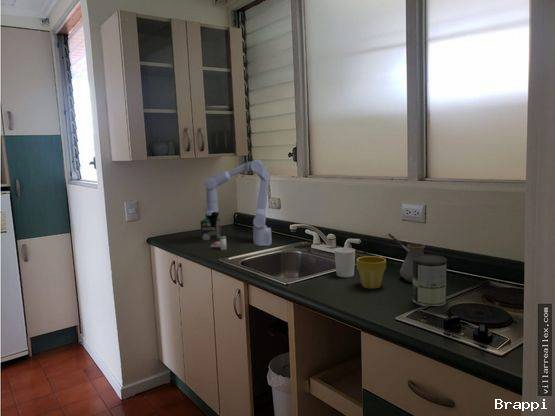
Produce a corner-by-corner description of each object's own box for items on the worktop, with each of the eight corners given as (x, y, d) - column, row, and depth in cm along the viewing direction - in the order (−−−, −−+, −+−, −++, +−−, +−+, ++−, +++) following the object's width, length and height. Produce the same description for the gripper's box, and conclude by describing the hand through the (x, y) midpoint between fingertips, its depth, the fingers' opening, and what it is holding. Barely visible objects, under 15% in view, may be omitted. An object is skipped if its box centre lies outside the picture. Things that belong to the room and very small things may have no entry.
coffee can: (405, 299, 142) (405, 257, 140) (428, 293, 147) (428, 252, 145) (429, 309, 133) (430, 264, 131) (453, 302, 138) (454, 259, 136)
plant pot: (368, 279, 165) (368, 254, 163) (391, 285, 157) (392, 259, 155) (350, 285, 158) (350, 259, 157) (373, 292, 150) (373, 264, 149)
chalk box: (221, 237, 250) (220, 212, 248) (217, 241, 241) (216, 214, 239) (205, 238, 251) (204, 212, 249) (201, 241, 242) (199, 215, 240)
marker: (227, 249, 218) (226, 236, 218) (226, 250, 215) (225, 237, 215) (221, 249, 219) (220, 236, 218) (219, 251, 216) (218, 237, 215)
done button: (221, 245, 228) (221, 241, 227) (220, 247, 224) (219, 242, 224) (215, 245, 228) (215, 241, 228) (214, 247, 225) (213, 242, 225)
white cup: (331, 273, 174) (331, 249, 172) (348, 271, 176) (348, 246, 175) (341, 279, 166) (340, 253, 165) (359, 276, 169) (359, 251, 168)
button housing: (225, 246, 229) (224, 243, 229) (222, 248, 223) (222, 245, 223) (213, 246, 230) (213, 243, 229) (210, 248, 224) (210, 245, 224)
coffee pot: (439, 281, 160) (439, 240, 158) (415, 286, 155) (415, 244, 153) (398, 267, 179) (398, 231, 177) (376, 271, 174) (376, 234, 172)
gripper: (208, 199, 235) (209, 224, 237) (200, 203, 221) (201, 229, 223) (221, 199, 234) (222, 224, 236) (214, 202, 220) (215, 229, 222)
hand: (213, 227), depth 229 cm, fingers closed
